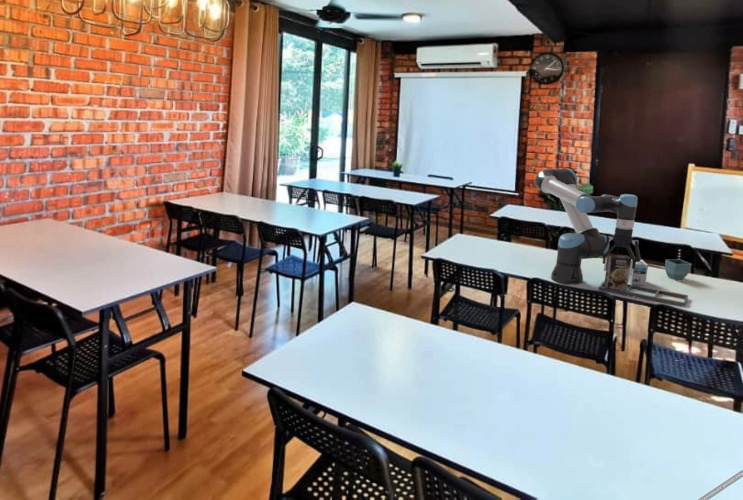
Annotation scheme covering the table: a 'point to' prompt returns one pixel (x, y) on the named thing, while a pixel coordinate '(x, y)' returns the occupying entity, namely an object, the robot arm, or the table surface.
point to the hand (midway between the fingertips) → (617, 272)
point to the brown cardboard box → (617, 272)
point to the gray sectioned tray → (647, 295)
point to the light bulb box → (639, 273)
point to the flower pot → (677, 268)
